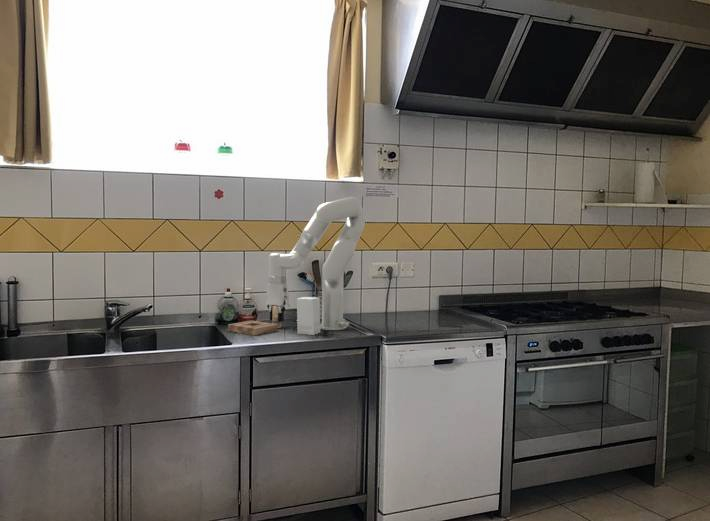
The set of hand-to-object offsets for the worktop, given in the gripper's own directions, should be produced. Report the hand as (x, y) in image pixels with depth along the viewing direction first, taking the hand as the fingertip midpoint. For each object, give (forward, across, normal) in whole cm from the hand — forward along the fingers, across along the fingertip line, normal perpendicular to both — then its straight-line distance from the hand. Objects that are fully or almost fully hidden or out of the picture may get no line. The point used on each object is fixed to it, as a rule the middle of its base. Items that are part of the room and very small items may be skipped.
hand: (276, 320), depth 270 cm
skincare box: (+4, -20, +2) cm, 20 cm away
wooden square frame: (+3, +2, +13) cm, 14 cm away
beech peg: (+3, 0, 0) cm, 3 cm away
